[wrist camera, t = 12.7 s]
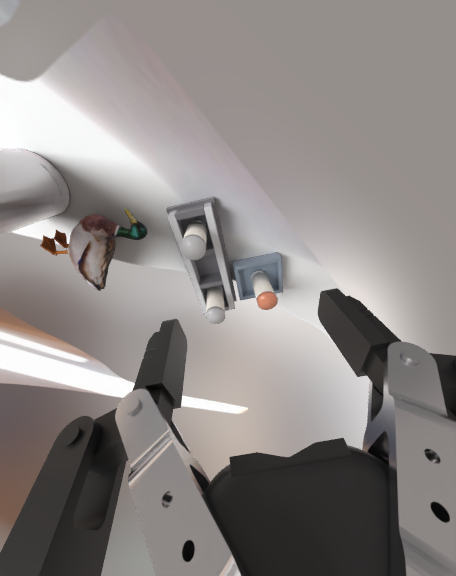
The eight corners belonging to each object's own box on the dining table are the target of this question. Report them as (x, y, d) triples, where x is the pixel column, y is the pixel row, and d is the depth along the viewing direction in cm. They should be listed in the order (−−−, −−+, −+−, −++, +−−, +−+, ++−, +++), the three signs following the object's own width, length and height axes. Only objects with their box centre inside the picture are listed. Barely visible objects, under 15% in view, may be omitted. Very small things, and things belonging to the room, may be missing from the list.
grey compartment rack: (202, 304, 47) (201, 316, 43) (167, 207, 33) (162, 213, 30) (236, 297, 46) (238, 309, 43) (213, 196, 33) (213, 201, 29)
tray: (238, 293, 45) (240, 300, 43) (232, 261, 40) (233, 267, 38) (279, 285, 45) (282, 292, 43) (277, 252, 40) (281, 257, 38)
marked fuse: (251, 284, 43) (258, 311, 36) (249, 271, 41) (256, 296, 34) (266, 281, 43) (277, 307, 35) (265, 267, 41) (277, 292, 33)
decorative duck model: (136, 212, 28) (156, 296, 36) (146, 204, 34) (161, 277, 42) (20, 216, 26) (69, 303, 34) (53, 206, 32) (88, 282, 40)
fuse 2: (209, 297, 44) (208, 325, 37) (205, 284, 42) (203, 311, 35) (224, 294, 44) (226, 322, 36) (221, 281, 42) (222, 308, 34)
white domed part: (190, 240, 36) (185, 262, 29) (184, 221, 34) (177, 239, 26) (209, 236, 36) (208, 257, 28) (204, 217, 34) (201, 234, 26)
